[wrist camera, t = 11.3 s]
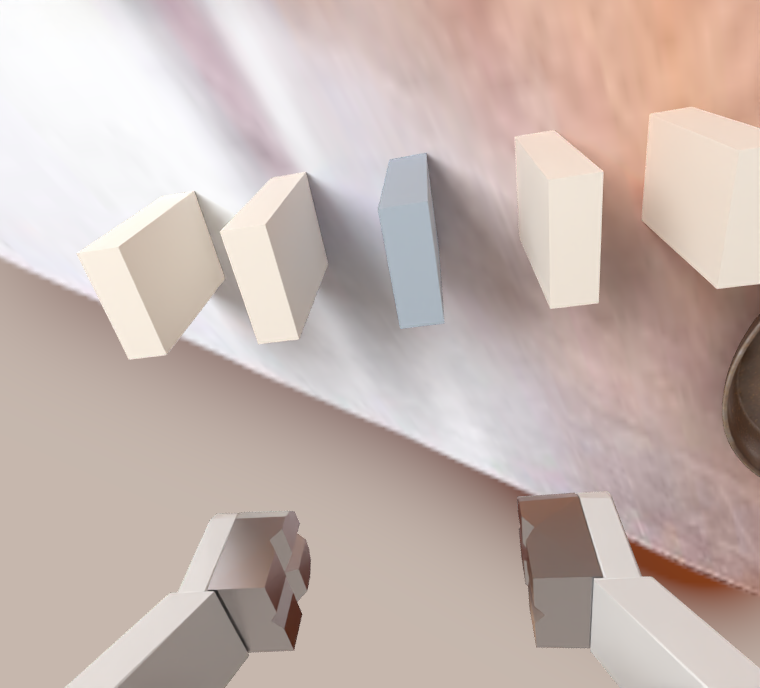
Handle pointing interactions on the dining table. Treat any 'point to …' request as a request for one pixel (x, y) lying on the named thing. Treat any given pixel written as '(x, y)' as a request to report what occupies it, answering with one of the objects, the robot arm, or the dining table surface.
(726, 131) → the domino
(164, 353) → the domino
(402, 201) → the domino
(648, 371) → the dining table surface
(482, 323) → the dining table surface
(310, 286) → the domino
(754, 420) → the plant saucer
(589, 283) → the domino
